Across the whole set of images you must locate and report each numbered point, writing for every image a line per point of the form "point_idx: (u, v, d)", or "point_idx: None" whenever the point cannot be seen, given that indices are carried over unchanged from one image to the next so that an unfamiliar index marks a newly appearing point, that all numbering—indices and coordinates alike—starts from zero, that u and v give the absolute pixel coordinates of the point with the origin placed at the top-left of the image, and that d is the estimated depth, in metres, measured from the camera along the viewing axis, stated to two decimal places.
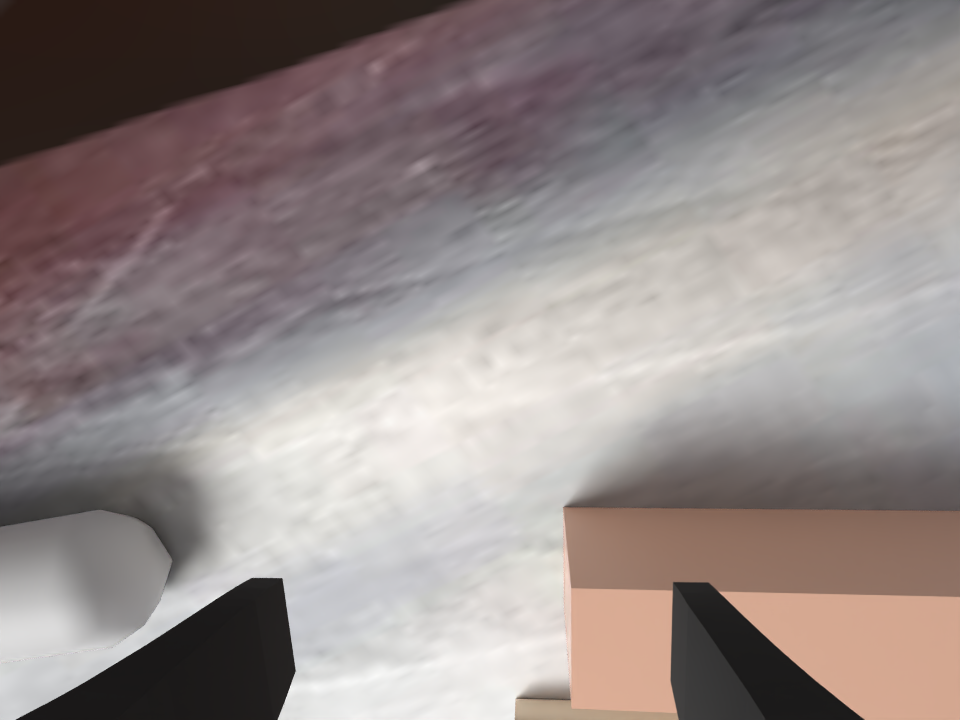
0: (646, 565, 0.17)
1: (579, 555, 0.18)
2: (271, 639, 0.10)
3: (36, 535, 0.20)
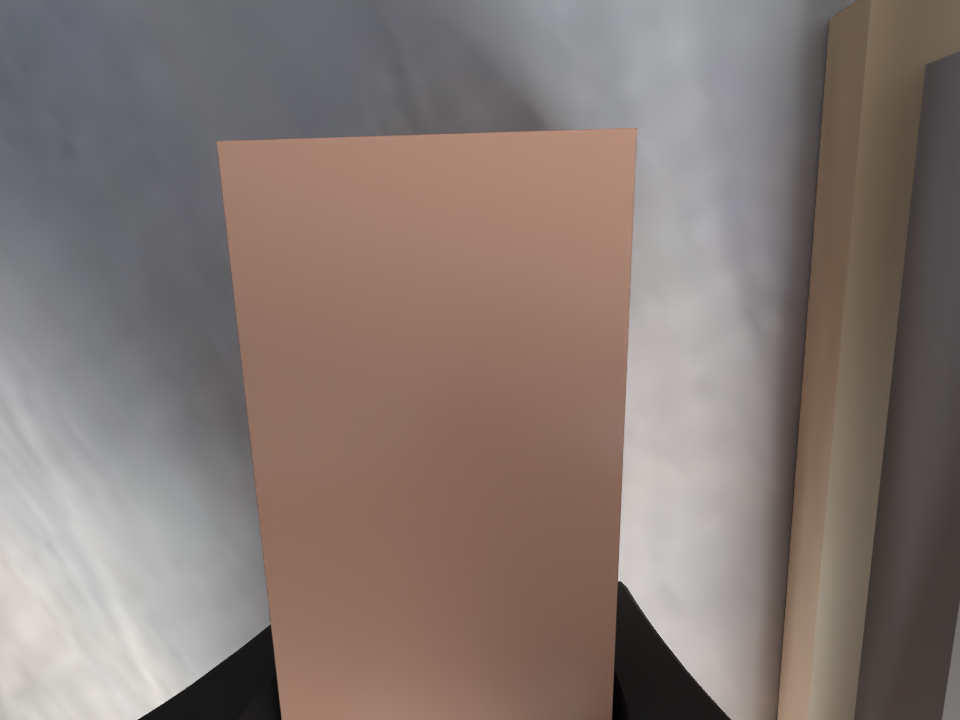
0: None
1: None
2: None
3: None
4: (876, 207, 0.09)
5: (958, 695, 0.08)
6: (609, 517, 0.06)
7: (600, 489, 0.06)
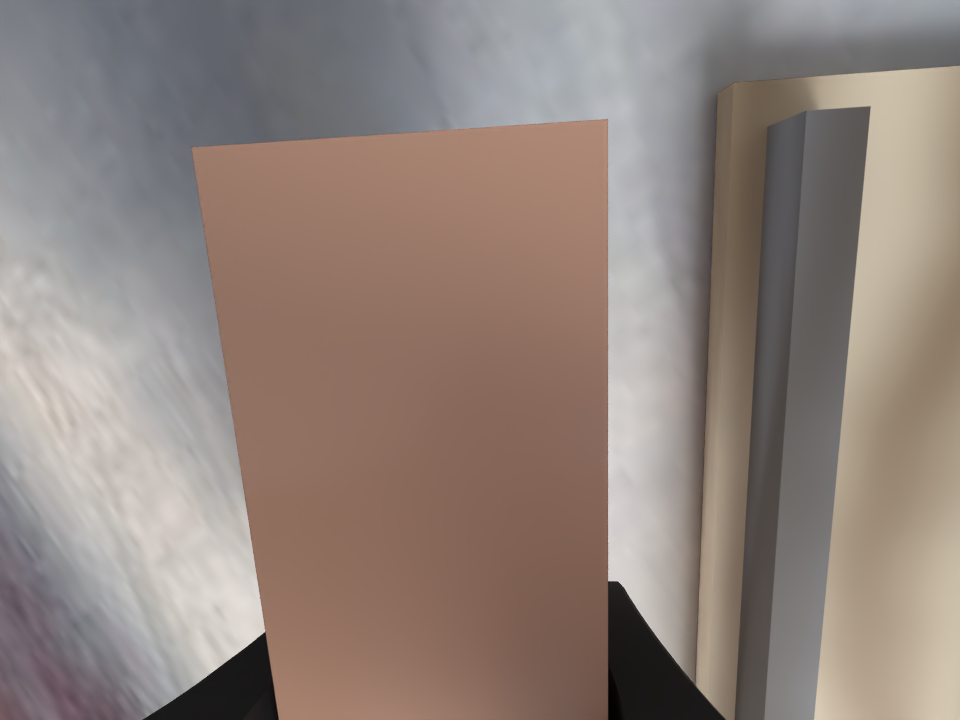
0: None
1: None
2: None
3: None
4: (742, 212, 0.14)
5: (786, 505, 0.14)
6: (596, 509, 0.06)
7: (586, 482, 0.06)
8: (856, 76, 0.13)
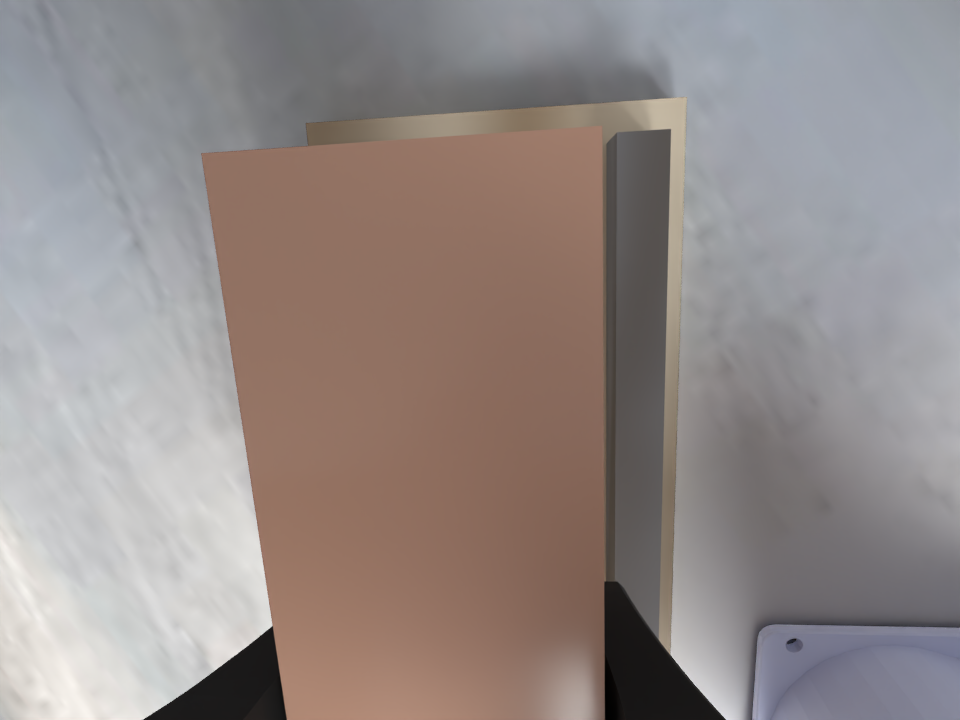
0: None
1: None
2: None
3: None
4: None
5: None
6: (593, 503, 0.06)
7: (583, 476, 0.06)
8: (401, 119, 0.16)
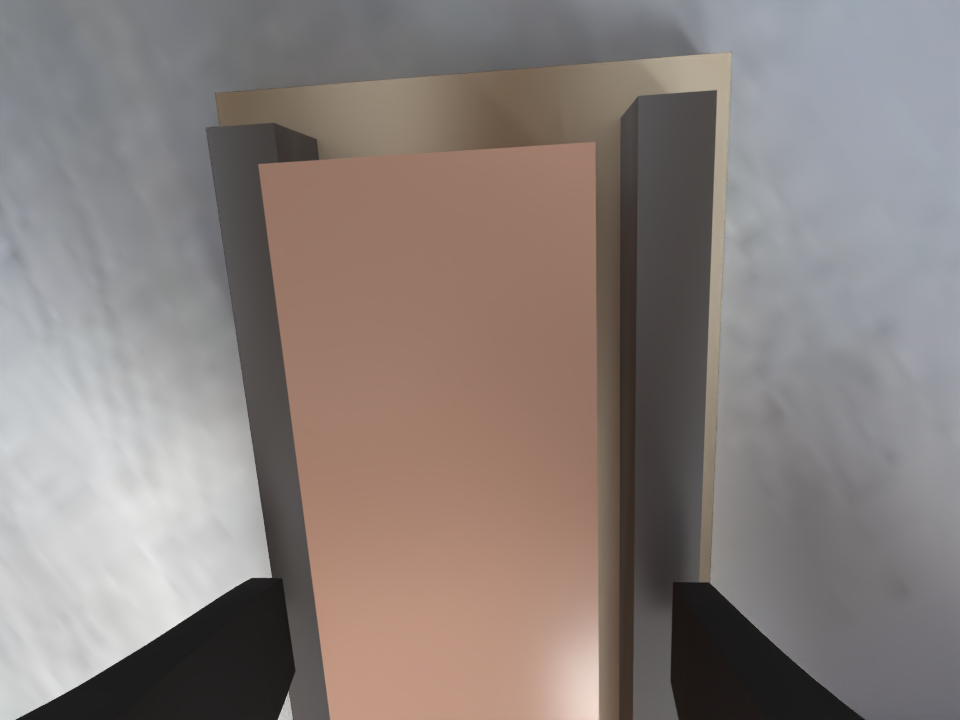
0: None
1: None
2: (271, 639, 0.10)
3: None
4: None
5: (279, 574, 0.12)
6: (588, 461, 0.08)
7: (579, 438, 0.07)
8: (342, 86, 0.11)
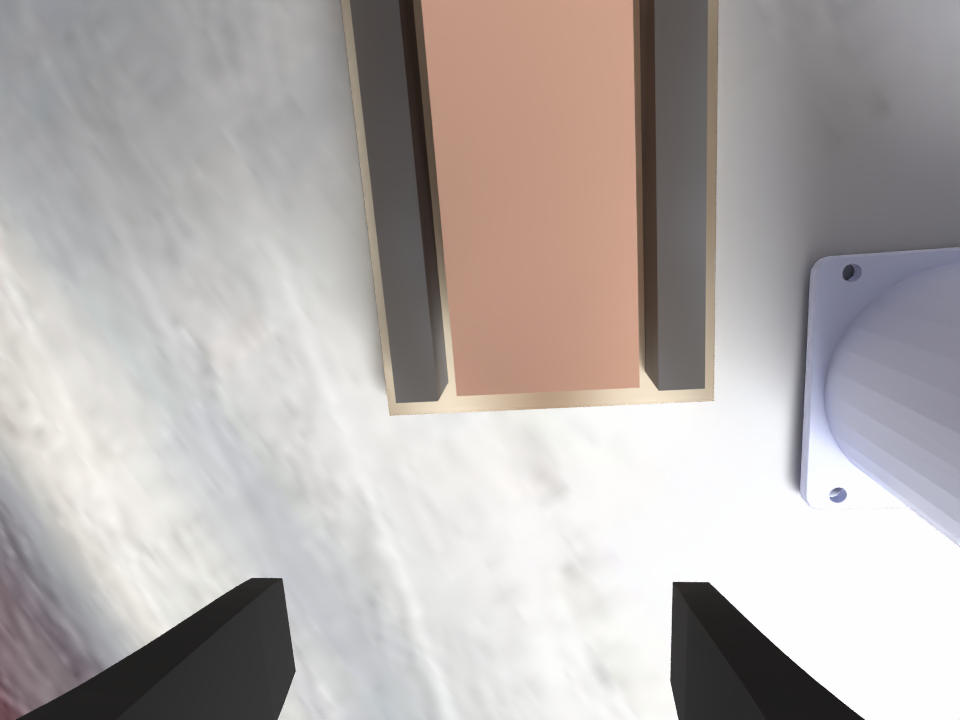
0: None
1: None
2: (271, 639, 0.10)
3: None
4: None
5: (360, 34, 0.14)
6: None
7: None
8: None
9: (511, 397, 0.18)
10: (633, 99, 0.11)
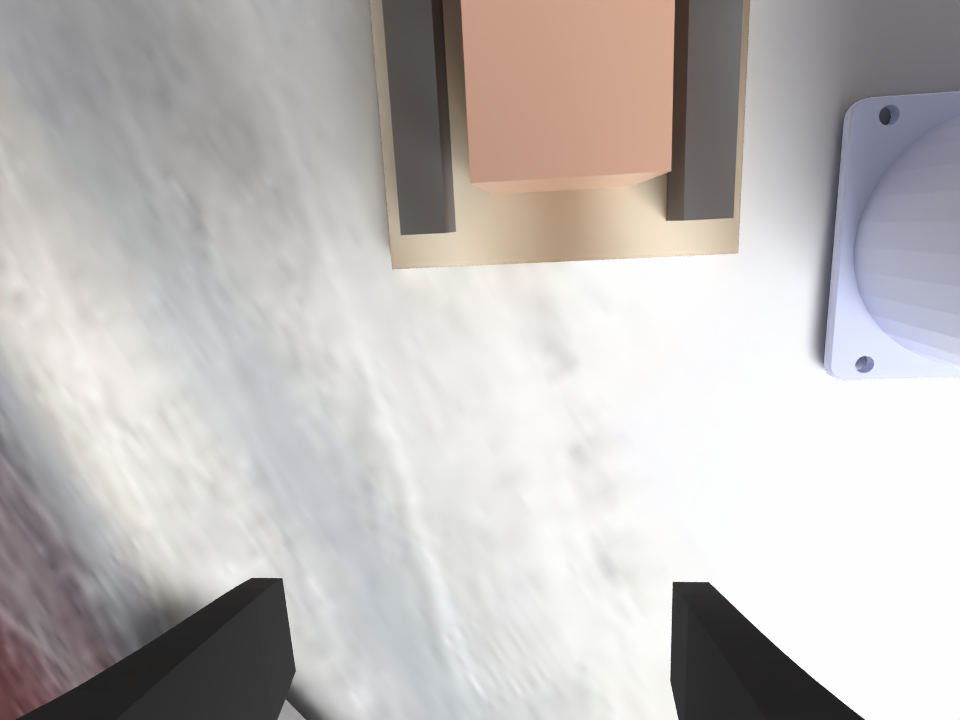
0: None
1: None
2: (271, 639, 0.10)
3: None
4: None
5: None
6: None
7: None
8: None
9: (522, 249, 0.17)
10: None
